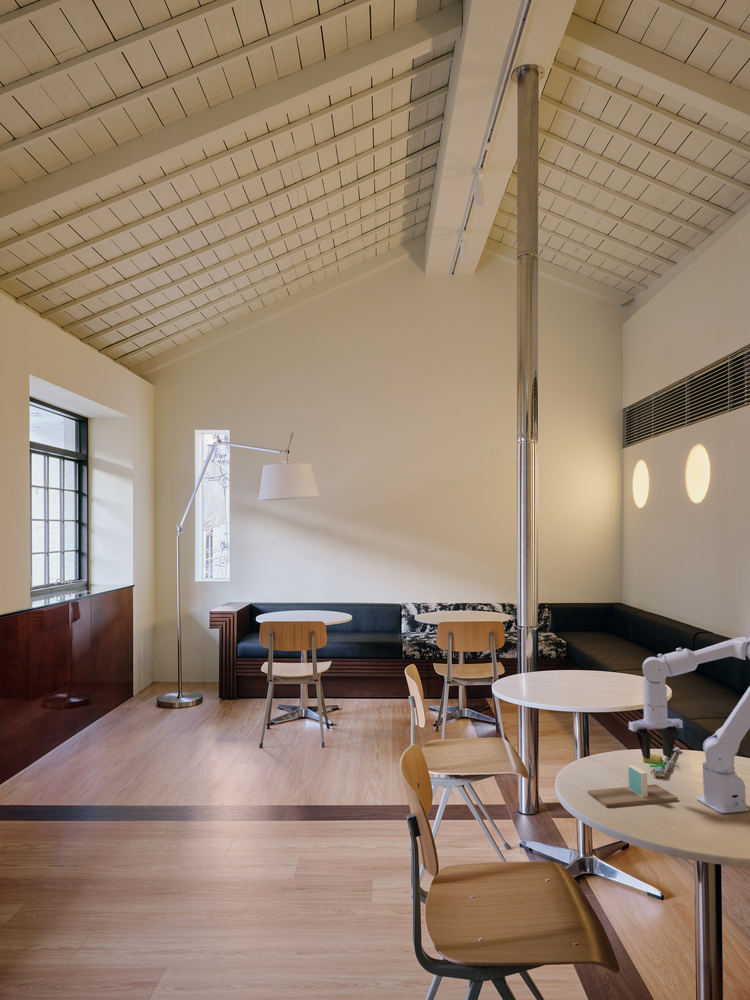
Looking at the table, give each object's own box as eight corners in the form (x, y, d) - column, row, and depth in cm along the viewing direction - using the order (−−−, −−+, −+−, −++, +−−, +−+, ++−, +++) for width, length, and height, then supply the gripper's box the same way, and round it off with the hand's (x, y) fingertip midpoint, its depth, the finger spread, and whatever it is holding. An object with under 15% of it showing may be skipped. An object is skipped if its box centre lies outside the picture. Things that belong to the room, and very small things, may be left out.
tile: (647, 796, 169) (647, 772, 169) (641, 797, 168) (641, 773, 168) (634, 787, 174) (633, 764, 175) (628, 788, 174) (627, 765, 174)
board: (677, 800, 168) (677, 797, 168) (606, 807, 164) (606, 804, 164) (656, 787, 177) (656, 784, 177) (588, 793, 173) (588, 790, 173)
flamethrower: (634, 774, 186) (672, 783, 181) (634, 765, 186) (673, 773, 181) (652, 748, 211) (686, 755, 205) (652, 739, 211) (686, 746, 205)
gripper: (670, 699, 178) (671, 750, 177) (621, 701, 175) (622, 753, 174) (687, 705, 171) (688, 758, 170) (637, 708, 168) (638, 762, 167)
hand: (656, 756), depth 172 cm, fingers open, 5 cm apart
